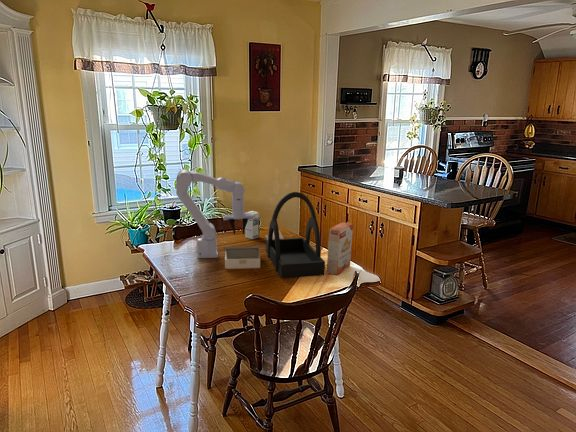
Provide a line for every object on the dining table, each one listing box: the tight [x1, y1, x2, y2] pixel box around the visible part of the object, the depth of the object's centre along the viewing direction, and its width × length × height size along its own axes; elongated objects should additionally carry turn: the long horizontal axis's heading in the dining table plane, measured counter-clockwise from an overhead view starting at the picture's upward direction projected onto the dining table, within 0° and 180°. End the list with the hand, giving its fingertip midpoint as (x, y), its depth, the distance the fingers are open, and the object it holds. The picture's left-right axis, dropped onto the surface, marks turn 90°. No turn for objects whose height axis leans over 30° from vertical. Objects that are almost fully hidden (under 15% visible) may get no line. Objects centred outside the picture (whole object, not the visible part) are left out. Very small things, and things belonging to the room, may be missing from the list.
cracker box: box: [326, 221, 354, 276], centre depth 197 cm, size 14×6×21 cm, turn 148°
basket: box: [265, 191, 326, 279], centre depth 202 cm, size 35×21×35 cm, turn 14°
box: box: [224, 249, 261, 270], centre depth 204 cm, size 16×14×4 cm
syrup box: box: [244, 210, 260, 240], centre depth 241 cm, size 6×6×14 cm
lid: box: [223, 246, 262, 250], centre depth 203 cm, size 17×15×1 cm
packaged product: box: [265, 230, 285, 241], centre depth 236 cm, size 18×5×10 cm
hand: (238, 233), depth 214 cm, fingers open, 4 cm apart
